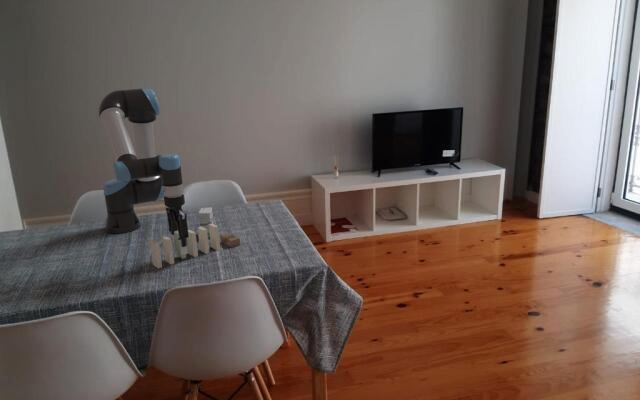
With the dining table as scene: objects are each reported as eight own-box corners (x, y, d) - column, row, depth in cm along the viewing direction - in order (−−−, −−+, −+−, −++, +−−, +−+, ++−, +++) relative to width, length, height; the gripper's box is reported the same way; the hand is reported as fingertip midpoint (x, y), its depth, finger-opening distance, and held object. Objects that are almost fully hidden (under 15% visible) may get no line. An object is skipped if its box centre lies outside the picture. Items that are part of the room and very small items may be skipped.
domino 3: (182, 258, 196) (179, 234, 193) (176, 255, 199) (173, 231, 196) (186, 257, 196) (183, 233, 194) (180, 254, 200) (177, 230, 197)
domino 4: (194, 257, 199) (191, 233, 196) (188, 253, 203) (186, 230, 200) (198, 256, 200) (195, 232, 197) (192, 252, 204) (189, 229, 201)
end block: (220, 242, 214) (220, 235, 213) (229, 239, 216) (228, 233, 215) (231, 247, 207) (231, 240, 206) (240, 245, 209) (239, 238, 208)
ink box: (212, 238, 218) (209, 212, 215) (201, 239, 218) (198, 213, 214) (214, 231, 226) (212, 206, 223) (203, 232, 226) (200, 207, 223)
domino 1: (158, 268, 190) (154, 243, 187) (152, 264, 193) (149, 240, 191) (162, 267, 191) (158, 242, 188) (156, 263, 194) (153, 239, 192)
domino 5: (205, 253, 202) (203, 230, 199) (200, 250, 206) (197, 227, 203) (209, 252, 203) (206, 229, 200) (203, 249, 207) (201, 226, 204)
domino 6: (216, 250, 205) (214, 227, 202) (211, 247, 209) (208, 224, 206) (220, 249, 206) (218, 226, 203) (214, 246, 210) (212, 223, 207)
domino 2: (170, 264, 193) (167, 240, 190) (165, 260, 196) (161, 236, 194) (174, 263, 194) (171, 239, 191) (169, 259, 197) (165, 235, 195)
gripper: (154, 192, 195) (162, 248, 202) (174, 201, 182) (182, 261, 188) (173, 188, 200) (179, 243, 206) (193, 197, 186) (200, 255, 193)
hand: (180, 251), depth 197 cm, fingers closed on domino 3, 5 cm apart
